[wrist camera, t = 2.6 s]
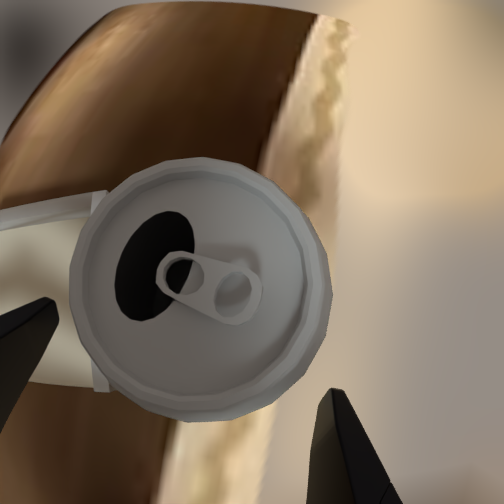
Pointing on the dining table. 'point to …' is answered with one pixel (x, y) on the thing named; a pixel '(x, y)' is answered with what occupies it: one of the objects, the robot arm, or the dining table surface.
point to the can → (200, 289)
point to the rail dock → (49, 279)
